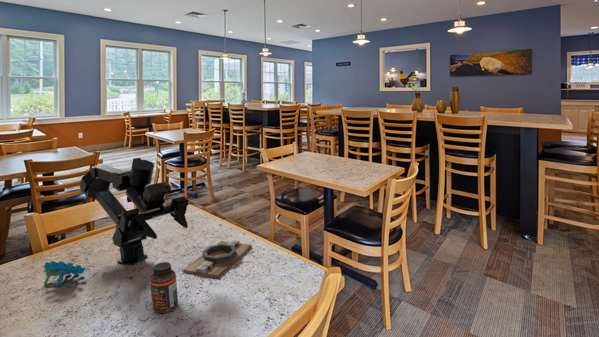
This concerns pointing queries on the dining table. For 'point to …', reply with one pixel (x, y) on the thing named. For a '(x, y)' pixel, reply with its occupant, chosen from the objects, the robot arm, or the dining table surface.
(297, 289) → the dining table surface
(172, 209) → the robot arm
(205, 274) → the octagonal bottle holder
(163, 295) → the supplement bottle
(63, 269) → the teal plastic irregular piece
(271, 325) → the dining table surface
